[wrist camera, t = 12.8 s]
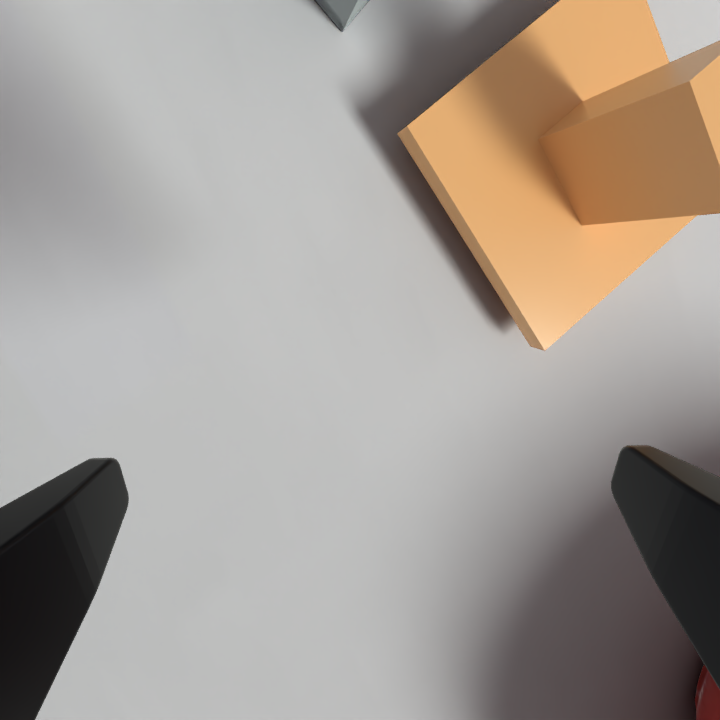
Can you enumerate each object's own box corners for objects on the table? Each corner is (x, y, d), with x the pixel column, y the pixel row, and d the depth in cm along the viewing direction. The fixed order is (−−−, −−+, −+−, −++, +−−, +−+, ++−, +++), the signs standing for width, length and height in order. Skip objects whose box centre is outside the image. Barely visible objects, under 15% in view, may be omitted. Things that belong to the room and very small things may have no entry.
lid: (514, 341, 21) (673, 389, 14) (386, 141, 18) (506, 52, 10) (673, 201, 22) (909, 172, 14) (582, -19, 18) (835, -220, 11)
